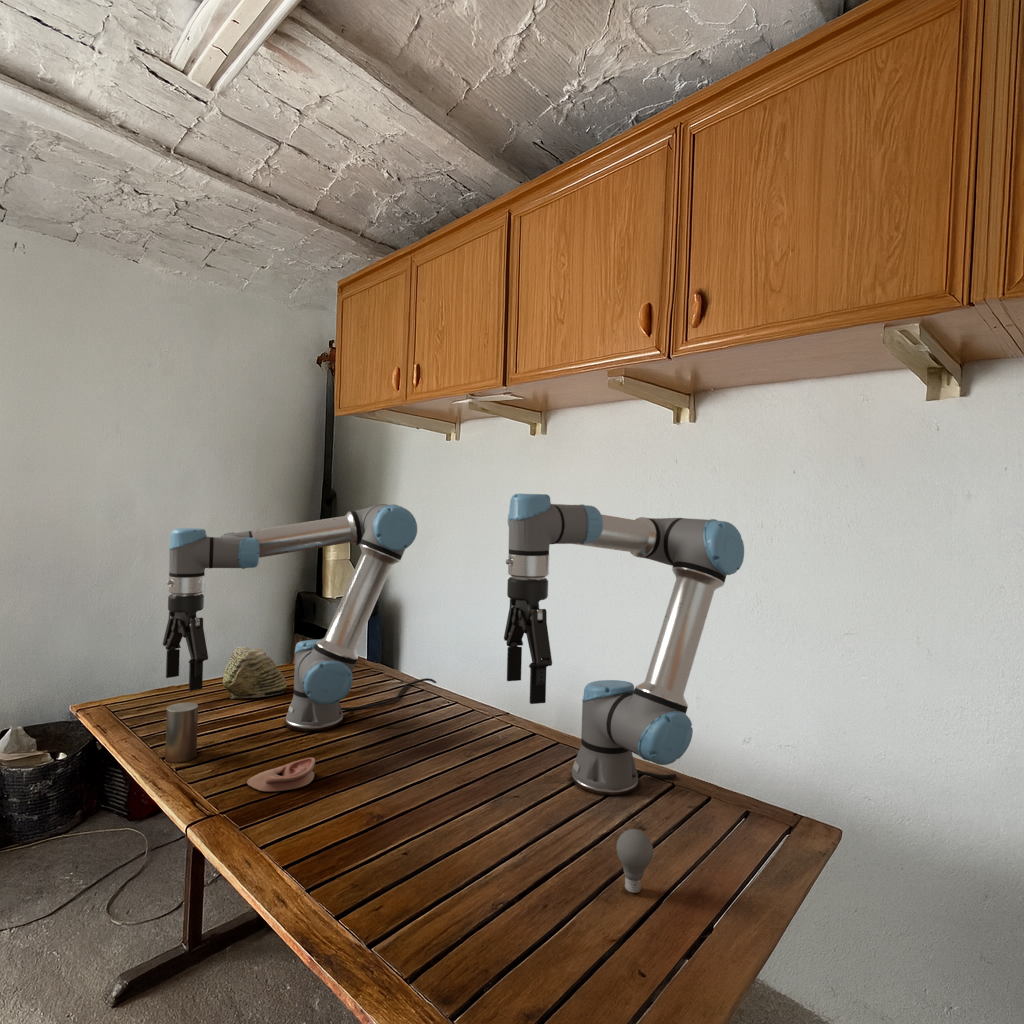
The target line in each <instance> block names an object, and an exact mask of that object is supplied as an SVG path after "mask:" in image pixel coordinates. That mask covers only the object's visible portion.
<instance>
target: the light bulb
mask: <svg viewBox="0 0 1024 1024" xmlns="http://www.w3.org/2000/svg"><path fill="white" fill-rule="evenodd" d="M615 849H616V854H617V857H618V859H619V861H620V863H621V865H622V867H623V873H624V874H623V875H624V876H625V878H624V888H625V890H627V891H628V892H630V893H634V894H635V893H639V892H640V891H641V889H642V887H641V886H642V879H643V877H644V875H645V871H646V868H647V867H648V866H649V864H650V863H651V861H652V859H653V855H654V847H653V843H652V841H651V838H649V836H648V835H647V834H646V833H645V832H643V831H642V830H641V829H636V828H629V829H627V830H625V831H623V832H622V833H621V834H620V835H619V837H618V839H617V841H616V847H615Z"/></svg>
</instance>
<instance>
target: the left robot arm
mask: <svg viewBox="0 0 1024 1024" xmlns="http://www.w3.org/2000/svg"><path fill="white" fill-rule="evenodd" d="M417 535H418V522H417V520H416V517H415V516H414V514H413V513H412V512H411V511H410V510H408V509H407V508H405V507H403V506H401V505H397V504H386V503H382V504H376V505H372V506H368V507H365V508H362V509H356V510H351V511H347V513H346V514H345V515H343V516H336V517H330V518H321V519H317V520H316V519H315V520H310V521H305V522H303V521H302V522H297V523H292V524H284V525H279V526H278V525H277V526H271V527H265V528H259V529H253V530H247V531H239V532H227V533H224V534H223V535H220V537H219V536H218V537H217V536H216V537H215V536H208V535H207V531H206V530H205V529H204V528H197V527H196V528H194V527H179V528H175V529H173V530H172V531H171V532H170V539H169V547H168V548H169V549H168V552H169V553H168V557H169V558H168V560H169V561H168V566H169V567H168V580H167V581H166V585H167V586H168V593H169V596H167V610H168V619H167V624H166V627H165V632H164V637H163V640H162V646H163V647H165V650H166V658H165V659H166V661H165V662H166V663H165V678H166V679H170V678H175V677H179V676H180V655H181V654H180V653H181V650H180V649H181V648H182V647H181V642H182V639H183V638H184V639H185V642H186V645H187V649H188V653H189V656H190V659H189V660H188V664H189V668H188V669H189V671H188V691H189V692H192V691H198V690H199V691H200V690H203V679H204V678H203V677H204V661H208V660H209V653H208V648H207V641H206V636H205V629H204V618H203V616H202V617H198V616H197V612H199V611H202V610H203V609H204V605H205V599H204V598H205V595H204V594H203V593H204V592H205V588H206V587H205V585H206V584H205V583H206V575H205V574H206V573H205V571H206V569H241V570H245V569H254V568H257V567H258V566H259V563H260V559H261V558H266V557H272V556H278V555H284V554H290V553H295V552H302V551H307V550H313V549H320V548H325V547H333V546H337V545H342V544H349V543H350V544H351V545H353V546H358V545H359V548H360V550H361V553H360V556H359V559H358V561H357V563H356V565H355V567H354V570H353V572H352V575H351V576H350V579H349V581H348V583H347V586H346V588H345V591H344V592H343V595H342V597H341V600H340V602H339V604H338V605H337V609H336V611H335V613H334V615H333V617H332V620H331V622H330V624H329V627H328V629H327V631H326V633H325V635H324V637H322V638H320V639H307V640H301V641H299V642H297V643H296V644H295V648H294V649H295V650H294V672H293V673H294V674H293V675H294V676H293V695H292V696H293V697H292V699H291V702H290V704H289V706H288V711H287V713H286V715H285V726H286V728H287V729H289V730H291V731H294V732H295V731H296V732H301V733H316V732H325V731H329V730H332V729H335V728H337V727H339V726H340V725H342V723H343V722H344V713H343V711H353V710H362V709H368V708H372V707H377V706H378V707H379V706H382V705H386V704H390V703H392V702H395V701H397V700H398V699H400V697H401V695H402V693H403V692H404V691H405V689H406V688H407V687H409V686H412V685H415V684H419V683H422V682H432V683H433V684H437V683H438V682H437V681H436V680H435V679H433V678H428V677H427V678H426V677H425V678H420V679H417V680H414V681H411V682H409V683H406V684H404V685H403V686H402V687H401V689H400V690H399V691H398V694H397V695H396V696H395V697H392V698H390V699H388V700H383V701H379V702H375V703H371V704H365V705H358V706H350V707H349V706H348V707H347V706H344V707H343V706H341V702H340V701H342V700H343V699H345V697H347V695H348V694H349V693H350V691H351V689H352V686H353V681H354V680H353V679H354V678H353V677H354V676H353V672H354V669H355V667H356V665H357V662H358V660H359V655H358V653H357V647H358V645H359V643H360V640H361V638H362V636H363V633H364V631H365V629H366V627H367V624H368V622H369V620H370V617H371V615H372V613H373V611H374V608H375V605H376V604H377V601H378V599H379V596H380V594H381V592H382V589H383V587H384V585H385V583H386V580H387V578H388V577H389V574H390V571H391V569H392V566H393V565H395V564H398V563H399V562H401V560H402V558H403V555H404V553H405V550H406V549H408V548H409V547H411V546H412V545H413V543H414V541H415V540H416V538H417Z"/></svg>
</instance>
